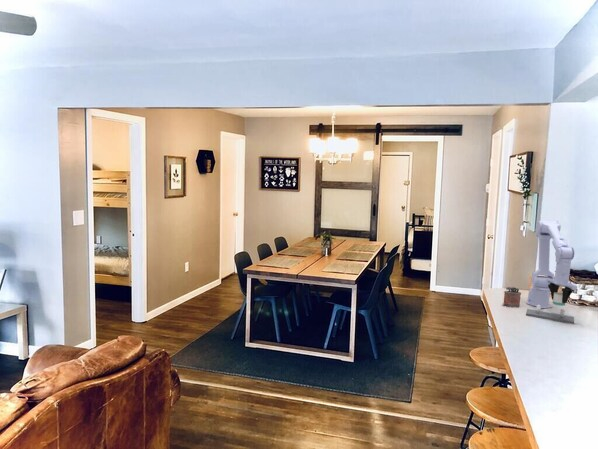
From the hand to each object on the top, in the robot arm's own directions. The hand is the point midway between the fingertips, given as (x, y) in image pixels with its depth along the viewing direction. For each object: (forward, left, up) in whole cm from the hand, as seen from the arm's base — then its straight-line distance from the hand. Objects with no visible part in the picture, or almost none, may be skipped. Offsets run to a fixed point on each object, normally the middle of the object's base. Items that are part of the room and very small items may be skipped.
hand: (559, 301), depth 218 cm
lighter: (-23, -4, -9) cm, 25 cm away
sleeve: (0, 0, -1) cm, 1 cm away
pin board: (-4, 0, -9) cm, 10 cm away
